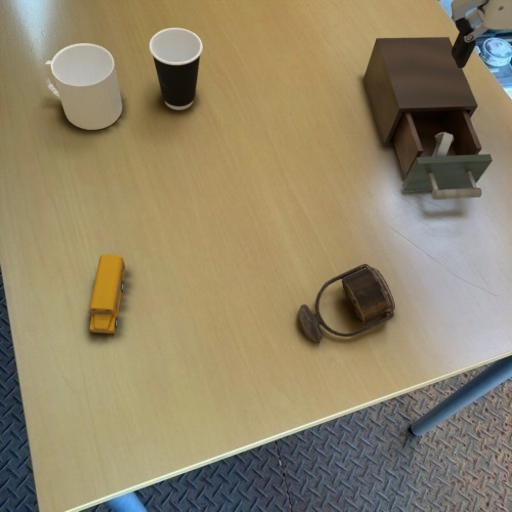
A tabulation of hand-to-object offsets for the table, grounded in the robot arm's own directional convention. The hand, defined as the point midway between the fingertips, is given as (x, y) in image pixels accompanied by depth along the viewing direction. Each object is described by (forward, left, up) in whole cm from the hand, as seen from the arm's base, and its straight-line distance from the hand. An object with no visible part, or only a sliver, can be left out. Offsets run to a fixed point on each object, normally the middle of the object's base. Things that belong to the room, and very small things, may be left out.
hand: (492, 59), depth 71 cm
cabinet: (+1, -12, -21) cm, 24 cm away
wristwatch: (+1, +1, -19) cm, 19 cm away
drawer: (+1, +1, -20) cm, 20 cm away
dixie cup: (+40, -16, -21) cm, 48 cm away
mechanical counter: (+20, +24, -21) cm, 38 cm away
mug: (+55, -15, -21) cm, 61 cm away
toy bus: (+51, +20, -21) cm, 59 cm away
